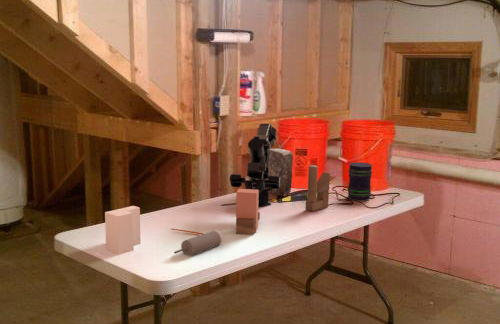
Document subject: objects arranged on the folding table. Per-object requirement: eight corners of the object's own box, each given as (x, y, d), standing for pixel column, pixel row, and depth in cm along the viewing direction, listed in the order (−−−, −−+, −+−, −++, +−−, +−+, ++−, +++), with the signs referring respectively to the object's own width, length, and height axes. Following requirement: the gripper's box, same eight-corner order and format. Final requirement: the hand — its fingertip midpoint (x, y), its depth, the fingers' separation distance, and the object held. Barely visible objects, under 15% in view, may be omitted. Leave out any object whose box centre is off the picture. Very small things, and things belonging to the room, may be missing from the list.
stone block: (263, 192, 245) (264, 148, 242) (274, 190, 250) (275, 147, 246) (283, 197, 235) (284, 152, 232) (294, 195, 240) (296, 151, 236)
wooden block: (328, 207, 221) (330, 164, 218) (312, 212, 214) (313, 167, 210) (321, 205, 224) (323, 162, 220) (305, 210, 216) (306, 165, 213)
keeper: (238, 226, 192) (238, 188, 190) (257, 227, 191) (258, 189, 189) (236, 230, 187) (236, 192, 185) (256, 231, 186) (256, 193, 184)
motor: (230, 242, 175) (229, 227, 175) (181, 261, 158) (179, 244, 158) (180, 239, 190) (179, 225, 190) (131, 256, 173) (129, 240, 172)
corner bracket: (119, 254, 163) (118, 216, 161) (97, 246, 170) (96, 209, 168) (147, 246, 171) (146, 209, 169) (125, 238, 178) (124, 203, 176)
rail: (245, 217, 204) (245, 205, 203) (260, 218, 203) (261, 205, 202) (236, 233, 185) (236, 219, 184) (253, 234, 184) (253, 220, 183)
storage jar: (347, 200, 233) (349, 166, 231) (347, 194, 243) (348, 162, 240) (371, 201, 232) (373, 167, 229) (369, 195, 241) (371, 162, 239)
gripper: (230, 152, 203) (224, 188, 195) (280, 154, 201) (276, 190, 192) (234, 169, 212) (228, 203, 204) (281, 171, 210) (278, 206, 201)
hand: (252, 200), depth 200 cm, fingers closed
